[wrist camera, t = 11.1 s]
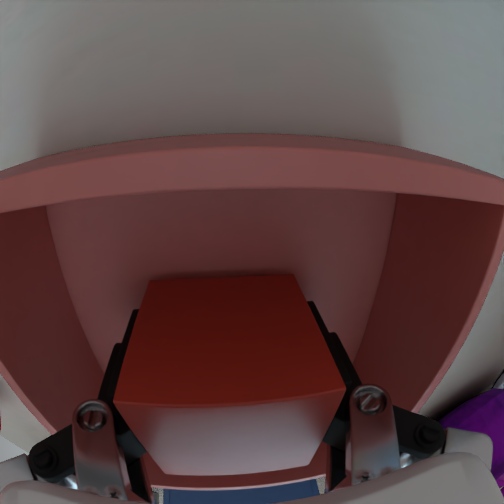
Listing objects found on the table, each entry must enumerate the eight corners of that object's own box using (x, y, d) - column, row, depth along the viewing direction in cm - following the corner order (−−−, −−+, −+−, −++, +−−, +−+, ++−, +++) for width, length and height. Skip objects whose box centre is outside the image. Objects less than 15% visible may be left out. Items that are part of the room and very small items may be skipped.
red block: (294, 272, 10) (347, 388, 5) (283, 367, 12) (309, 465, 7) (148, 279, 9) (111, 402, 5) (171, 373, 11) (164, 474, 7)
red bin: (405, 147, 9) (520, 185, 4) (344, 389, 15) (374, 462, 10) (36, 158, 8) (-72, 206, 3) (117, 402, 14) (103, 479, 9)
